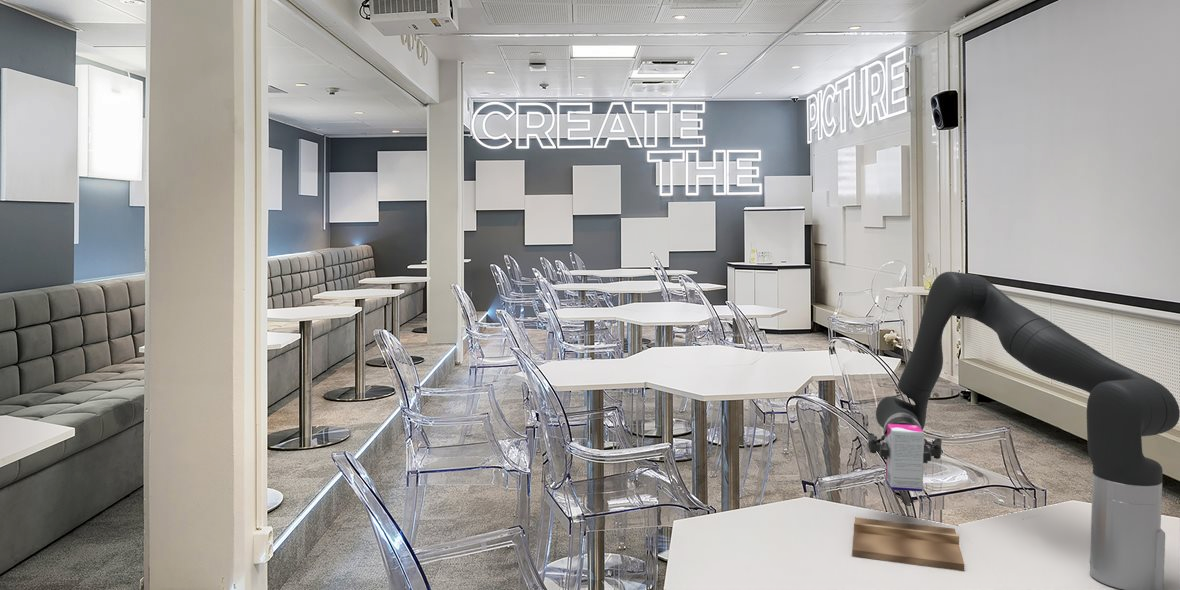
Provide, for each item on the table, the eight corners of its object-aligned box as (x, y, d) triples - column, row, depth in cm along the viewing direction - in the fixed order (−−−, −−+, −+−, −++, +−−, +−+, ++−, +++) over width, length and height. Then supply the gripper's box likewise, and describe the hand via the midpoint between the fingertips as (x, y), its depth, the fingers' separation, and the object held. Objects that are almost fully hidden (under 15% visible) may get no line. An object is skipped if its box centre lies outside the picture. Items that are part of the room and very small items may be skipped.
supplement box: (924, 492, 138) (924, 431, 137) (890, 490, 139) (890, 430, 138) (917, 481, 143) (918, 424, 142) (884, 480, 145) (885, 423, 144)
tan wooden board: (954, 534, 141) (954, 520, 141) (964, 571, 126) (964, 555, 125) (854, 523, 148) (855, 509, 148) (852, 556, 132) (852, 541, 132)
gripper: (866, 413, 156) (864, 433, 141) (941, 418, 151) (948, 439, 135) (865, 448, 157) (864, 471, 141) (940, 454, 151) (947, 479, 136)
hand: (905, 456), depth 138 cm, fingers closed on supplement box, 6 cm apart
